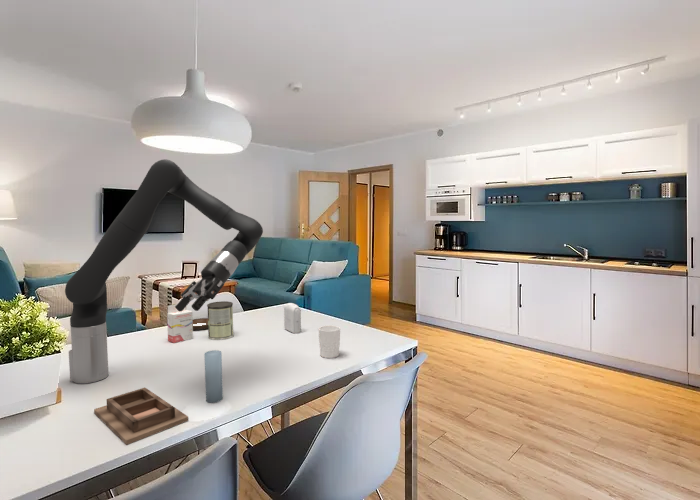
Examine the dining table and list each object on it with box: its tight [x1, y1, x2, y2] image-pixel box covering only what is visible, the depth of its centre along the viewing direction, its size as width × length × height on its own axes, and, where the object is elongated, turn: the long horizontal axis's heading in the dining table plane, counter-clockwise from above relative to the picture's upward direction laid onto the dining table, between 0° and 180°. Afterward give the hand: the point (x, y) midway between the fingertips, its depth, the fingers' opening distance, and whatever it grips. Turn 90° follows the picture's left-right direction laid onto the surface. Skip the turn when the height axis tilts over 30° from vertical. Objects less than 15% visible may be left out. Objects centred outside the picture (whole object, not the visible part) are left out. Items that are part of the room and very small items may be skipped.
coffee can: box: [206, 300, 234, 341], centre depth 167 cm, size 10×10×14 cm
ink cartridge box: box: [166, 303, 194, 344], centre depth 163 cm, size 9×5×15 cm, turn 141°
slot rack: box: [93, 387, 190, 446], centre depth 99 cm, size 22×14×4 cm, turn 49°
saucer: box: [192, 317, 208, 331], centre depth 183 cm, size 15×15×3 cm
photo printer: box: [283, 302, 302, 334], centre depth 176 cm, size 10×4×12 cm, turn 36°
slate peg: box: [203, 349, 224, 404], centre depth 108 cm, size 4×4×13 cm
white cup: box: [318, 324, 341, 359], centre depth 143 cm, size 8×8×10 cm
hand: (185, 309), depth 110 cm, fingers open, 8 cm apart
